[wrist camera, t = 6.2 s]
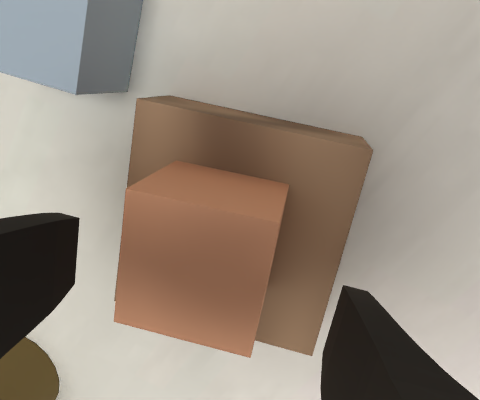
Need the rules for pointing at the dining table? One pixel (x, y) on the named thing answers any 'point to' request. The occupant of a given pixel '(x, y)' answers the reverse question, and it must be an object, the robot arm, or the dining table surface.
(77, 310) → the dining table surface
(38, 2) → the slate-blue cube
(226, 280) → the terracotta cube
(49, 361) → the olive game pawn
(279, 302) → the walnut block
